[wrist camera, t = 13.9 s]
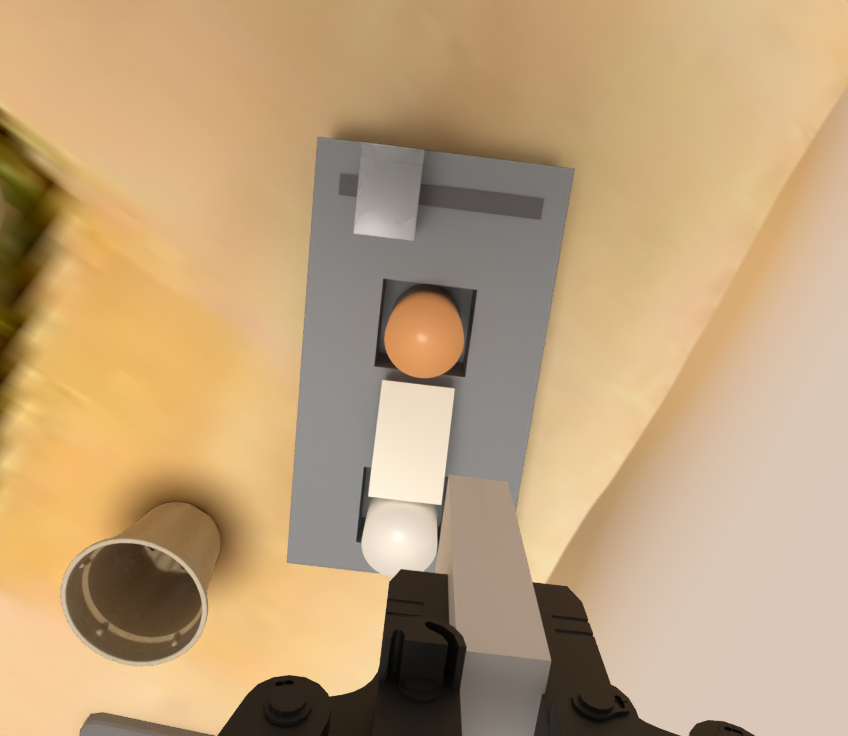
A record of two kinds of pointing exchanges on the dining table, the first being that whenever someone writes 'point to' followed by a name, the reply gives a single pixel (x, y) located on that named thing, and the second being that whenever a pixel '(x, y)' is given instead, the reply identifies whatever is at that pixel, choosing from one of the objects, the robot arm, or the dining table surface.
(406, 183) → the fader
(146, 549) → the flower pot
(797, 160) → the dining table surface
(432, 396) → the rocker
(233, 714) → the robot arm
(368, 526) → the button white
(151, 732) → the grey flat slab
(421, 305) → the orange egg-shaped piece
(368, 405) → the console
